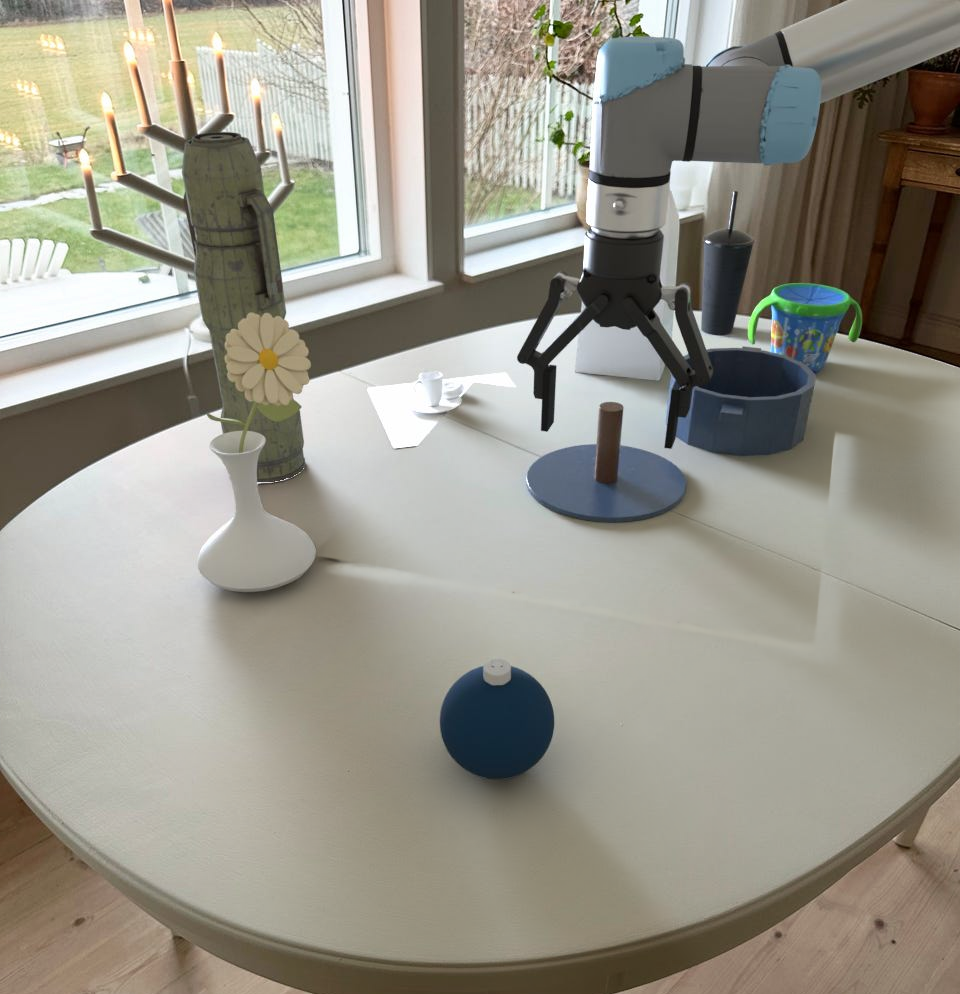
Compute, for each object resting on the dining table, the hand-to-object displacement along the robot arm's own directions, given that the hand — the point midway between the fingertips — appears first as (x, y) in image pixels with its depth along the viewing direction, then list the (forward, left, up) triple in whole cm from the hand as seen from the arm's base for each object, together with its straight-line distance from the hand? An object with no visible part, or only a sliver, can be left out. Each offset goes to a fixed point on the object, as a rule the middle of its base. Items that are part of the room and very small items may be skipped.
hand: (607, 435), depth 104 cm
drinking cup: (-5, -57, -7) cm, 58 cm away
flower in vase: (+28, +27, -7) cm, 39 cm away
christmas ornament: (-2, +46, -7) cm, 47 cm away
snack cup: (-18, -45, -7) cm, 49 cm away
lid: (0, 0, -6) cm, 6 cm away
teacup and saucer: (+24, -16, -7) cm, 29 cm away
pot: (-12, -20, -6) cm, 24 cm away
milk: (+6, -39, -7) cm, 40 cm away
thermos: (+39, +7, -7) cm, 40 cm away
